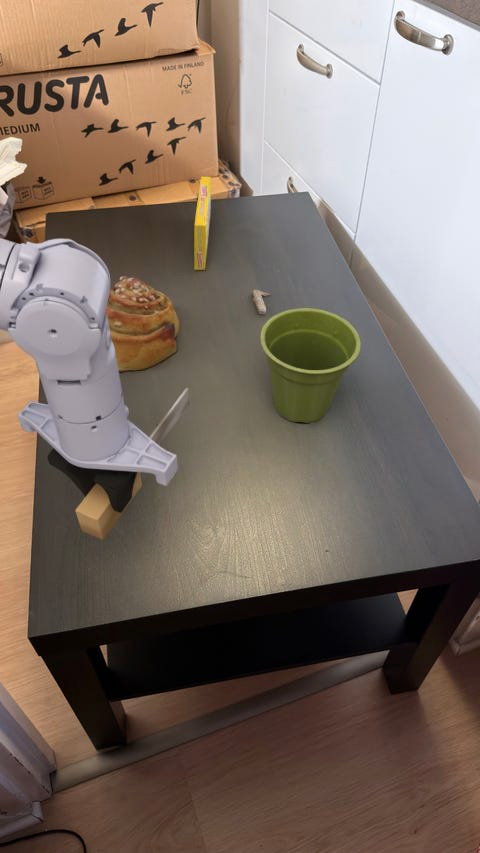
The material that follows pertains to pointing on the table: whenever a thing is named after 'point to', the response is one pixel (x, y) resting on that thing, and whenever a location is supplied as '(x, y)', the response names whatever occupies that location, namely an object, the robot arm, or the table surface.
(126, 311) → the pastry
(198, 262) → the candy box
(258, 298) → the ginger root
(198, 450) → the table surface
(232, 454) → the table surface
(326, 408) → the plant pot
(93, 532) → the cake knife
